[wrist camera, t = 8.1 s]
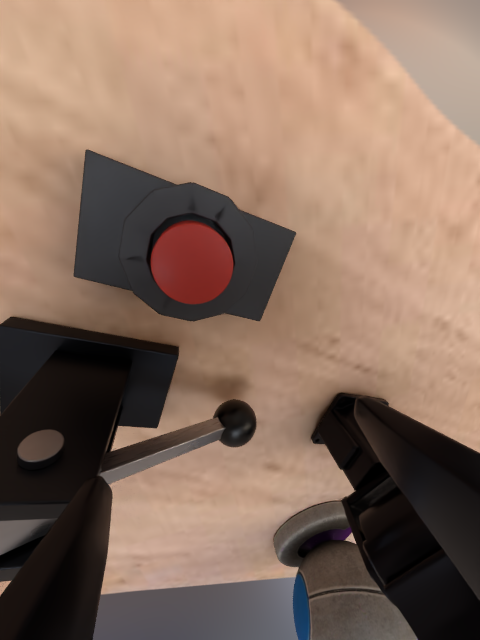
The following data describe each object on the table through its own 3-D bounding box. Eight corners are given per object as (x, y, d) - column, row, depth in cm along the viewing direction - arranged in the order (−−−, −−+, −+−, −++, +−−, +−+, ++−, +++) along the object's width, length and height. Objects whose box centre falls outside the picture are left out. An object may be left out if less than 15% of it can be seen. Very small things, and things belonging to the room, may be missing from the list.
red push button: (236, 234, 12) (244, 239, 11) (215, 299, 13) (219, 312, 12) (163, 208, 11) (160, 209, 9) (147, 282, 12) (142, 294, 11)
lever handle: (244, 387, 19) (271, 416, 17) (231, 416, 20) (255, 448, 18) (-7, 447, 10) (-15, 530, 8) (-5, 496, 11) (-11, 580, 9)
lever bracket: (178, 346, 18) (176, 483, 9) (158, 417, 20) (141, 577, 12) (11, 316, 14) (-241, 484, 6) (10, 404, 17) (-167, 615, 8)
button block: (287, 225, 16) (313, 231, 13) (252, 314, 18) (267, 338, 15) (97, 149, 12) (68, 131, 9) (83, 273, 14) (56, 292, 11)
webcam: (339, 543, 40) (417, 713, 26) (265, 560, 36) (312, 763, 23) (366, 494, 34) (482, 678, 21) (283, 509, 31) (357, 737, 18)
